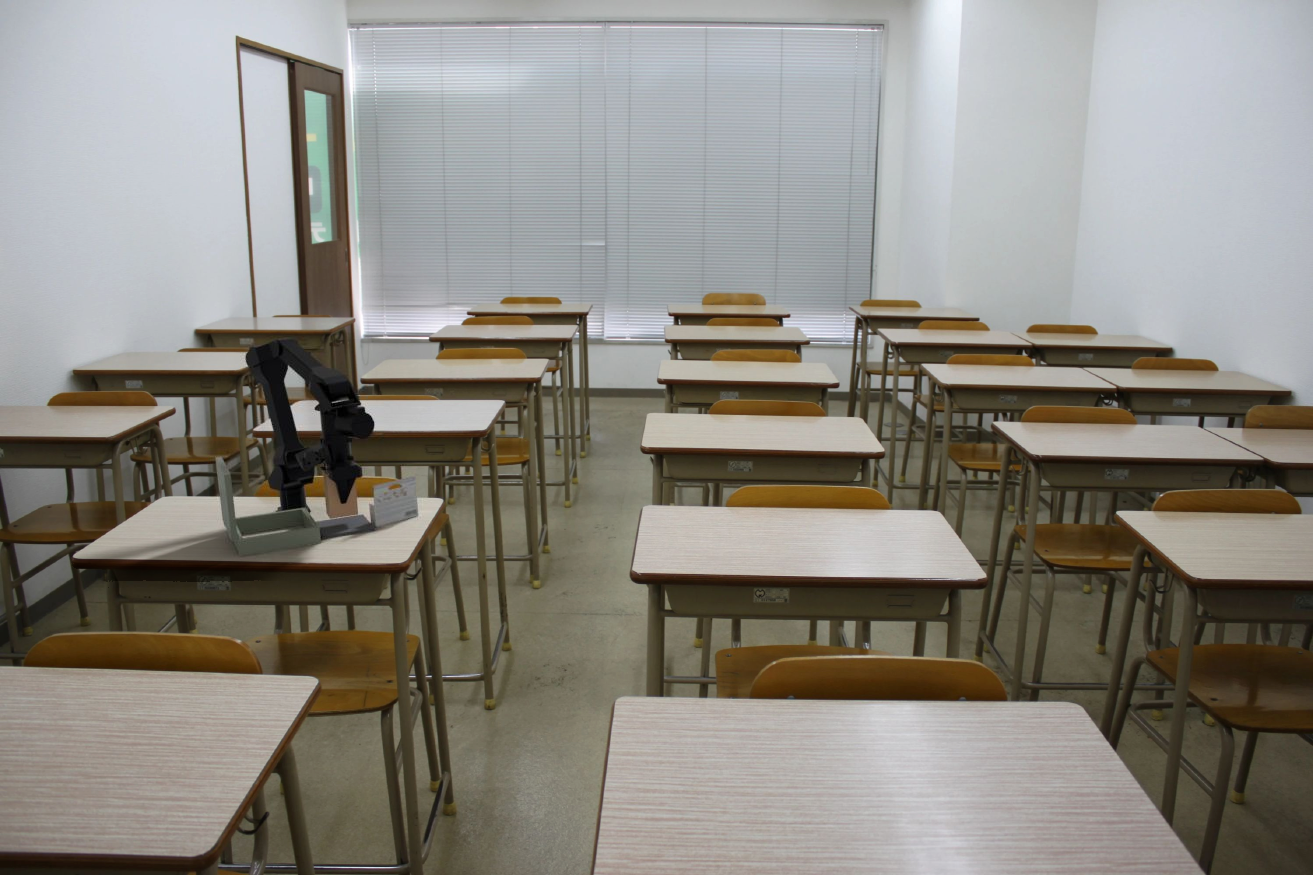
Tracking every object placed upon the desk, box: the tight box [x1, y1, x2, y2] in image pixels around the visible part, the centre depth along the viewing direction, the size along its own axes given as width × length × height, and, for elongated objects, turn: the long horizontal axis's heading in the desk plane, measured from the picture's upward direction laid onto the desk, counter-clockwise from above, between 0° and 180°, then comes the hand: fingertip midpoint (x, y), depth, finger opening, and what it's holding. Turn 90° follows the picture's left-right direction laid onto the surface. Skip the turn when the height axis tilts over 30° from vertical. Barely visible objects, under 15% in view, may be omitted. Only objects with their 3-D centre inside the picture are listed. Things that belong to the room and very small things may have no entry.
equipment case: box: [214, 456, 322, 557], centre depth 205 cm, size 16×17×18 cm
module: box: [322, 469, 359, 520], centre depth 212 cm, size 4×6×10 cm, turn 120°
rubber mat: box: [315, 513, 376, 539], centre depth 214 cm, size 11×11×1 cm
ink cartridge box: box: [368, 475, 419, 528], centre depth 218 cm, size 2×11×10 cm, turn 136°
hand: (341, 500), depth 213 cm, fingers closed on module, 4 cm apart
